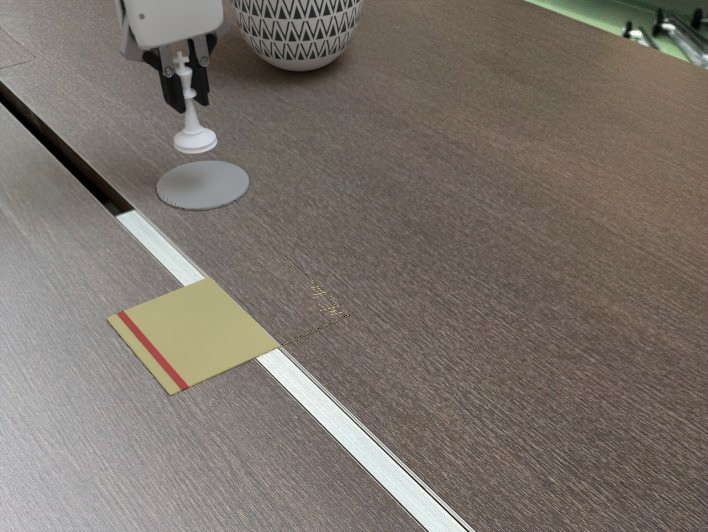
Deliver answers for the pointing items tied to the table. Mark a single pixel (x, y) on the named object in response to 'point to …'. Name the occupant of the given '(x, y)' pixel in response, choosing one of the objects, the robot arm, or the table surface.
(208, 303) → the paper
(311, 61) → the planter
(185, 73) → the chess piece
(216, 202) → the coaster
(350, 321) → the table surface
